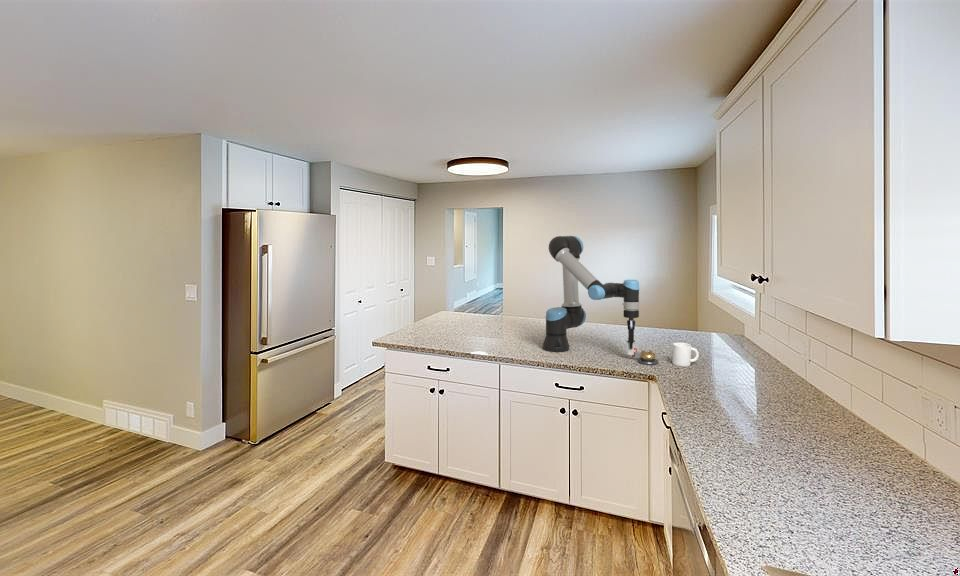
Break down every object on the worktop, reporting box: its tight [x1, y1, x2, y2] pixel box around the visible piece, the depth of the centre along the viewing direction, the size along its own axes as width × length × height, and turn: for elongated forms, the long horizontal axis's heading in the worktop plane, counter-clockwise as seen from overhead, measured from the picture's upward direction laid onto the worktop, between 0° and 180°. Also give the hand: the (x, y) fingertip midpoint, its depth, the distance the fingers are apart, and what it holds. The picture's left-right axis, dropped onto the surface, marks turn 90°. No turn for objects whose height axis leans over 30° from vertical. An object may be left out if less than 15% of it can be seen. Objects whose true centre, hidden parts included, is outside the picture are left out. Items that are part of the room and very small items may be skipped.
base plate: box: [636, 358, 659, 366], centre depth 213 cm, size 10×10×1 cm
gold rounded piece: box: [631, 347, 656, 361], centre depth 215 cm, size 12×7×4 cm, turn 39°
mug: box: [671, 342, 700, 368], centre depth 208 cm, size 12×8×10 cm
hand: (630, 354), depth 218 cm, fingers closed
